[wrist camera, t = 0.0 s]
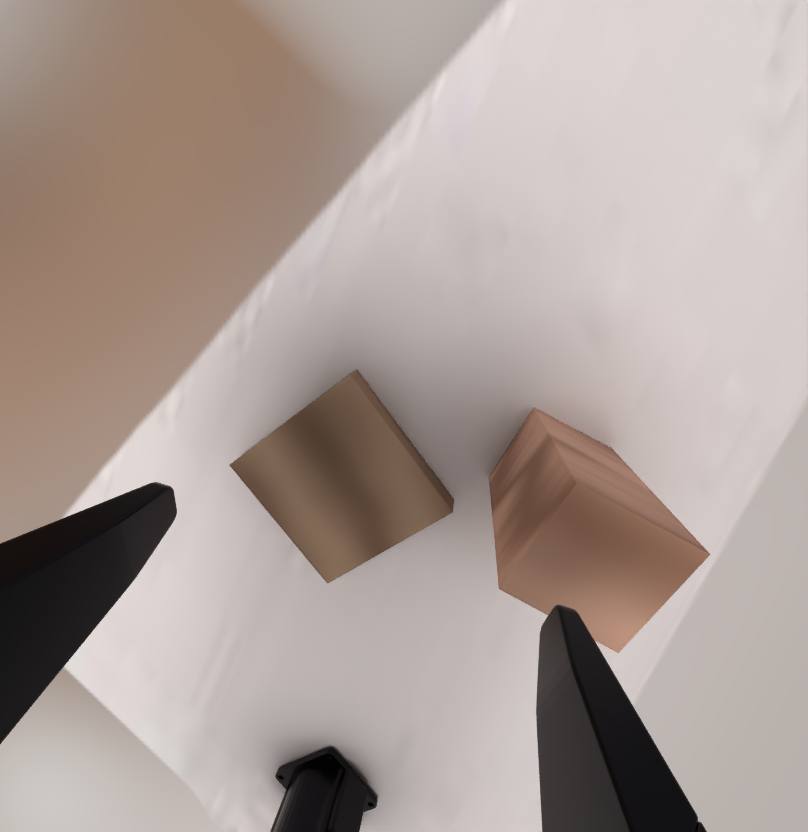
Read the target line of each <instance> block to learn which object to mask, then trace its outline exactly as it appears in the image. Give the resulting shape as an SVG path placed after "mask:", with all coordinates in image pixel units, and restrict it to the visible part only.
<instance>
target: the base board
mask: <svg viewBox="0 0 808 832" xmlns="http://www.w3.org/2000/svg"><path fill="white" fill-rule="evenodd" d="M230 466H231V468H232V469H233V470H234V471H235V472H236V474H237V475H238V476H239V477H240V478H241V480H242V481H243V482H244V483H245V484H246V486H247V487H248V488H249V489H250V490H251V492H252V493H253V494H254V495H255V497H256V498H257V499H258V500H259V501H260V503H261V504H262V505H263V506H264V507H265V509H266V510H267V511H268V512H269V513H270V515H271V516H272V517H273V518H274V520H275V521H276V522H277V523H278V524H279V526H280V527H281V528H282V529H283V530H284V532H285V533H286V534H287V535H288V536H289V538H290V539H291V540H292V541H293V542H294V544H295V545H296V546H297V547H298V549H299V550H300V551H301V552H302V553H303V555H304V556H305V557H306V558H307V559H308V561H309V562H310V563H311V564H312V565H313V567H314V568H315V569H316V570H317V572H318V573H319V574H320V575H321V576H322V578H323V579H324V580H325V581H326V582H327V583H329V582H331V581H333V580H335V579H336V578H338V577H340V576H342V575H343V574H345V573H347V572H349V571H350V570H352V569H354V568H356V567H357V566H359V565H361V564H363V563H364V562H366V561H368V560H370V559H371V558H373V557H375V556H377V555H378V554H380V553H382V552H384V551H385V550H387V549H389V548H391V547H392V546H394V545H396V544H398V543H399V542H401V541H403V540H405V539H406V538H408V537H410V536H412V535H413V534H415V533H417V532H419V531H420V530H422V529H424V528H426V527H427V526H429V525H431V524H433V523H434V522H436V521H438V520H440V519H441V518H443V517H445V516H447V515H448V514H450V513H452V512H453V504H454V499H453V498H452V497H451V495H450V494H449V493H448V491H447V490H446V489H445V487H444V486H443V485H442V483H441V482H440V481H439V479H438V478H437V477H436V475H435V474H434V473H433V471H432V470H431V469H430V467H429V466H428V465H427V463H426V462H425V461H424V459H423V458H422V457H421V455H420V454H419V453H418V451H417V450H416V449H415V447H414V446H413V445H412V443H411V442H410V440H409V439H408V438H407V436H406V435H405V434H404V432H403V431H402V430H401V428H400V427H399V426H398V424H397V423H396V422H395V420H394V419H393V418H392V416H391V415H390V414H389V412H388V411H387V410H386V408H385V407H384V406H383V404H382V403H381V402H380V400H379V399H378V398H377V396H376V395H375V394H374V392H373V391H372V390H371V388H370V387H369V386H368V384H367V383H366V382H365V380H364V379H363V377H362V376H361V375H360V373H359V372H358V371H357V370H355V371H354V372H352V373H351V374H349V375H348V376H346V377H345V378H344V379H342V380H341V381H340V382H338V383H337V384H336V385H335V386H333V387H332V388H331V389H329V390H328V391H327V392H325V393H324V394H323V395H321V396H320V397H319V398H317V399H316V400H315V401H313V402H312V403H311V404H309V405H308V406H307V407H305V408H304V409H303V410H301V411H300V412H299V413H297V414H296V415H295V416H293V417H292V418H291V419H290V420H288V421H287V422H286V423H284V424H283V425H282V426H280V427H279V428H278V429H276V430H275V431H274V432H272V433H271V434H270V435H268V436H267V437H266V438H264V439H263V440H262V441H260V442H259V443H258V444H256V445H255V446H254V447H252V448H251V449H250V450H248V451H247V452H246V453H245V454H243V455H242V456H241V457H239V458H238V459H237V460H235V461H234V462H233V463H231V464H230Z"/></svg>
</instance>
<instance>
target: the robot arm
mask: <svg viewBox="0 0 808 832" xmlns="http://www.w3.org/2000/svg"><path fill="white" fill-rule="evenodd" d="M176 513H177V508H176V502H175V496H174V491H173V489H172V487H170V486H168V485H164V484H161V483H157V482H154V483H150V484H147V485H145V486H142V487H140V488H137V489H135V490H132V491H130V492H127V493H125V494H123V495H120V496H118V497H115V498H113V499H110V500H108V501H105V502H103V503H100V504H98V505H95V506H93V507H90V508H88V509H85V510H83V511H80V512H78V513H75V514H73V515H70V516H68V517H65V518H63V519H60V520H58V521H55V522H53V523H50V524H48V525H45V526H43V527H40V528H38V529H36V530H33V531H30V532H28V533H26V534H23V535H21V536H18V537H16V538H13V539H11V540H8V541H6V542H3V543H1V544H0V744H1V743H2V741H3V740H4V739H5V738H6V737H7V735H8V734H9V733H10V732H11V730H12V729H13V728H14V727H15V726H16V724H17V723H18V722H19V721H20V719H21V718H22V717H23V716H24V714H25V713H26V712H27V711H28V710H29V708H30V707H31V706H32V705H33V703H34V702H35V701H36V700H37V699H38V697H39V696H40V695H41V693H42V692H43V691H44V690H45V689H46V687H47V686H48V685H49V684H50V683H51V681H52V680H53V679H54V678H55V676H56V675H57V674H58V673H59V671H60V670H61V669H62V668H63V667H64V665H65V664H66V663H67V662H68V661H69V659H70V658H71V657H72V656H73V654H74V653H75V652H76V651H77V650H78V648H79V647H80V646H81V645H82V643H83V642H84V641H85V640H86V638H87V637H88V636H89V635H90V634H91V632H92V631H93V630H94V629H95V627H96V626H97V625H98V624H99V623H100V621H101V620H102V619H103V618H104V616H105V615H106V614H107V613H108V612H109V610H110V609H111V608H112V607H113V605H114V604H115V603H116V602H117V600H118V599H119V598H120V597H121V596H122V594H123V593H124V592H125V591H126V589H127V588H128V587H129V586H130V584H131V583H132V582H133V581H134V579H135V578H136V577H137V575H138V574H139V572H140V571H141V569H142V568H143V566H144V565H145V563H146V562H147V560H148V559H149V557H150V556H151V555H152V553H153V552H154V550H155V549H156V547H157V546H158V544H159V543H160V541H161V540H162V538H163V537H164V535H165V534H166V532H167V531H168V529H169V528H170V526H171V525H172V523H173V521H174V520H175V517H176ZM536 716H537V738H538V757H539V775H540V794H541V813H542V831H543V832H707V831H706V830H705V828H704V826H703V825H702V823H701V822H698V817H697V815H696V813H695V811H694V810H693V808H692V806H691V805H690V803H689V801H688V799H687V798H686V796H685V794H684V792H683V791H682V789H681V787H680V786H679V784H678V782H677V780H676V779H675V777H674V776H673V774H672V772H671V770H670V769H669V767H668V765H667V763H666V762H665V760H664V759H663V757H662V755H661V753H660V752H659V750H658V748H657V746H656V745H655V743H654V741H653V740H652V738H651V736H650V734H649V733H648V731H647V730H646V728H645V726H644V724H643V723H642V721H641V719H640V717H639V716H638V714H637V712H636V711H635V709H634V707H633V705H632V704H631V702H630V700H629V699H628V697H627V695H626V694H625V692H624V690H623V688H622V687H621V685H620V683H619V682H618V680H617V678H616V676H615V675H614V673H613V671H612V670H611V668H610V666H609V665H608V663H607V661H606V659H605V658H604V656H603V654H602V653H601V651H600V649H599V647H598V646H597V644H596V642H595V641H594V639H593V637H592V636H591V634H590V632H589V630H588V629H587V627H586V625H585V624H584V622H583V620H582V619H581V617H580V615H579V614H578V612H577V611H576V610H574V609H572V608H569V607H566V606H562V605H556V606H554V608H553V609H552V611H551V612H550V614H549V615H548V617H547V618H546V620H545V621H544V623H543V625H542V627H541V631H540V643H539V663H538V682H537V706H536ZM276 779H277V780H278V781H279V782H280V783H281V784H282V785H283V786H284V787H285V789H286V792H285V794H284V797H283V800H282V802H281V805H280V808H279V810H278V813H277V816H276V818H275V821H274V823H273V826H272V829H271V831H270V832H359V830H360V825H361V821H362V816H363V812H365V811H368V810H371V809H374V808H376V806H377V801H378V799H377V797H376V796H375V795H374V794H373V793H372V791H371V790H370V789H369V788H368V787H367V786H366V785H365V784H364V782H363V781H362V780H361V779H360V778H359V777H358V776H357V775H356V773H355V772H354V771H353V770H352V769H351V768H350V767H349V765H348V764H347V763H346V762H345V761H344V760H343V759H342V758H341V756H340V755H339V754H338V753H337V752H336V751H335V750H334V749H332V748H327V749H325V750H322V751H320V752H318V753H315V754H313V755H310V756H308V757H306V758H303V759H301V760H298V761H296V762H293V763H291V764H289V765H286V766H284V767H281V768H279V769H278V771H277V773H276Z"/></svg>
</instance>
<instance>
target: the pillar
mask: <svg viewBox="0 0 808 832" xmlns="http://www.w3.org/2000/svg"><path fill="white" fill-rule="evenodd" d="M489 483H490V494H491V505H492V516H493V527H494V538H495V549H496V560H497V571H498V582H499V589H500V590H502V591H504V592H506V593H508V594H510V595H512V596H513V597H515V598H517V599H519V600H521V601H523V602H525V603H526V604H528V605H530V606H532V607H534V608H536V609H538V610H539V611H541V612H543V613H545V614H547V615H549V614H550V612H551V611H552V609H553V608H554V606H556V605H562V606H566V607H569V608H572V609H574V610H576V611H577V612H578V614H579V615H580V617H581V619H582V620H583V622H584V624H585V625H586V627H587V629H588V630H589V632H590V634H591V636H592V637H593V639H594V640H595V641H597V642H599V643H601V644H603V645H604V646H606V647H608V648H610V649H612V650H614V651H616V652H617V653H619V652H620V651H621V650H622V649H623V648H624V647H625V646H626V644H627V643H628V642H629V641H630V640H631V639H632V638H633V637H634V636H635V635H636V634H637V633H638V632H639V630H640V629H641V628H642V627H643V626H644V625H645V624H646V623H647V622H648V621H649V620H650V619H651V618H652V617H653V615H654V614H655V613H656V612H657V611H658V610H659V609H660V608H661V607H662V606H663V605H664V604H665V603H666V601H667V600H668V599H669V598H670V597H671V596H672V595H673V594H674V593H675V592H676V591H677V590H678V589H679V587H680V586H681V585H682V584H683V583H684V582H685V581H686V580H687V579H688V578H689V577H690V576H691V575H692V574H693V572H694V571H695V570H696V569H697V568H698V567H699V566H700V565H701V564H702V563H703V562H704V561H705V560H706V558H707V557H708V556H709V555H710V554H709V553H708V551H707V550H706V549H705V548H704V547H703V546H702V545H701V544H700V543H699V542H698V541H697V540H696V539H695V537H694V536H693V535H692V534H691V533H690V532H689V531H688V530H687V529H686V528H685V527H684V526H683V524H682V523H681V522H680V521H679V520H678V519H677V518H676V517H675V516H674V515H673V514H672V513H671V512H670V510H669V509H668V508H667V507H666V506H665V505H664V504H663V503H662V502H661V501H660V500H659V499H658V498H657V496H656V495H655V494H654V493H653V492H652V491H651V490H650V489H649V488H648V487H647V486H646V485H645V484H644V482H643V481H642V480H641V479H640V478H639V477H638V476H637V475H636V474H635V473H634V472H633V471H632V470H631V468H630V467H629V466H628V465H627V464H626V463H625V462H624V461H623V460H622V459H621V458H620V457H619V456H618V454H617V453H616V452H615V451H614V450H613V449H612V448H610V447H608V446H606V445H604V444H602V443H600V442H598V441H596V440H595V439H593V438H591V437H589V436H587V435H585V434H583V433H581V432H580V431H578V430H576V429H574V428H572V427H570V426H568V425H566V424H564V423H563V422H561V421H559V420H557V419H555V418H553V417H551V416H549V415H547V414H546V413H544V412H542V411H540V410H538V409H536V408H533V410H532V411H531V413H530V414H529V416H528V417H527V419H526V420H525V422H524V424H523V425H522V427H521V428H520V430H519V431H518V433H517V434H516V436H515V438H514V439H513V441H512V442H511V444H510V445H509V447H508V448H507V450H506V452H505V453H504V455H503V456H502V458H501V459H500V461H499V462H498V464H497V466H496V467H495V469H494V470H493V472H492V473H491V475H490V476H489Z"/></svg>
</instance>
